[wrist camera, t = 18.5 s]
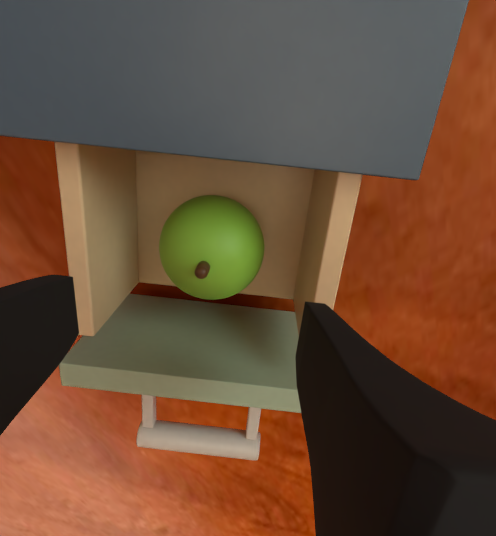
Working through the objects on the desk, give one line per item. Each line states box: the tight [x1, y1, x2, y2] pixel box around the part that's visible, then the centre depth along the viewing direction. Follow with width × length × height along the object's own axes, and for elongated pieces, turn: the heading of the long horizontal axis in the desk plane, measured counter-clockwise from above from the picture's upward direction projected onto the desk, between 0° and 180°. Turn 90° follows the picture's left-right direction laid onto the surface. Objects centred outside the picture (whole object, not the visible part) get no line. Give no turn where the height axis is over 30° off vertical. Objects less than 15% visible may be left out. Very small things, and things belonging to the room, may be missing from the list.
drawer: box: [54, 142, 362, 460], centre depth 16 cm, size 19×11×7 cm, turn 174°
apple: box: [159, 195, 264, 300], centre depth 15 cm, size 5×5×5 cm
